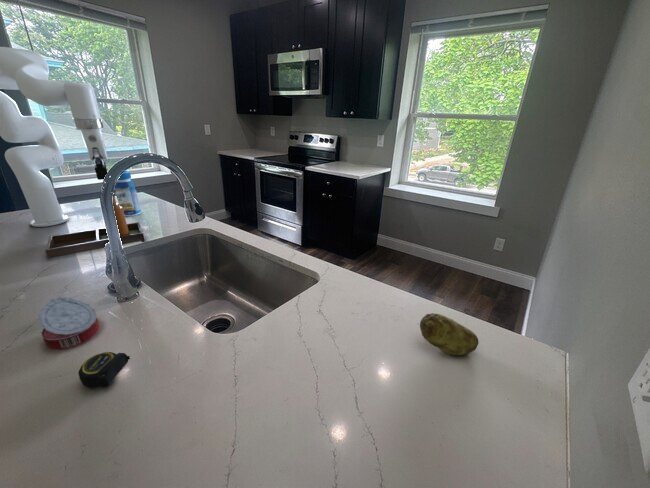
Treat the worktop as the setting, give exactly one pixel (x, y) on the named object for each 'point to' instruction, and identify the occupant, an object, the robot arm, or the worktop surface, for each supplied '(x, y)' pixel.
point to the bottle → (120, 218)
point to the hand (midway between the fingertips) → (102, 176)
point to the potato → (448, 334)
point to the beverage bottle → (127, 195)
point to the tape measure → (102, 369)
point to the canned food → (67, 323)
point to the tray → (88, 240)
